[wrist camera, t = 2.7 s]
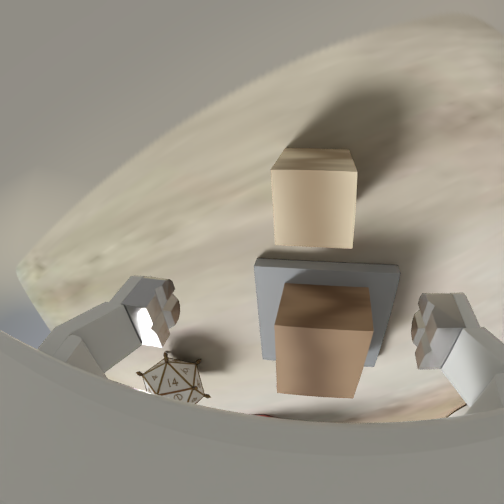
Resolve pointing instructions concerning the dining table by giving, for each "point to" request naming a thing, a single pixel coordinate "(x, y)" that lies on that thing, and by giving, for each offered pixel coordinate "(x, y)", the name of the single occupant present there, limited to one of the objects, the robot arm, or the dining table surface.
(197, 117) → the dining table surface
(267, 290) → the base plate
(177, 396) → the game die
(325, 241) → the oak block
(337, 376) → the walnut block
